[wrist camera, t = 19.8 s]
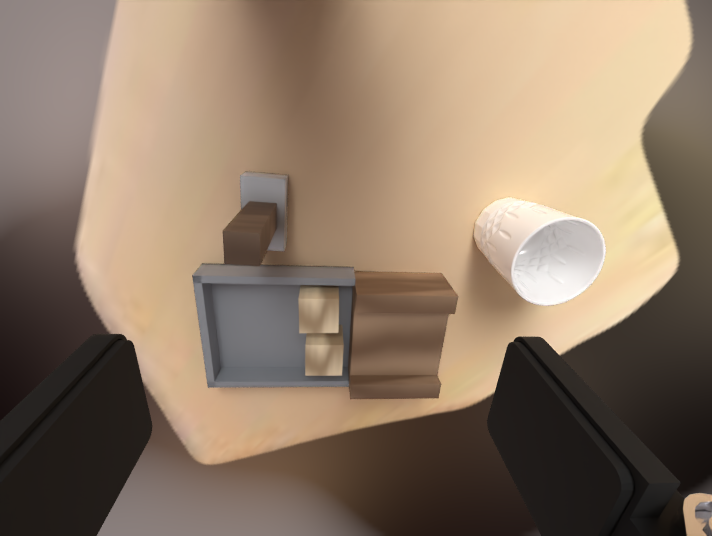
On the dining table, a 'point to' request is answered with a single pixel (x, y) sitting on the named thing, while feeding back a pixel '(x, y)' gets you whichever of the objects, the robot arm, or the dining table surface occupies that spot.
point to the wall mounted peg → (258, 219)
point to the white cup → (540, 249)
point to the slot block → (397, 334)
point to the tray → (263, 323)
